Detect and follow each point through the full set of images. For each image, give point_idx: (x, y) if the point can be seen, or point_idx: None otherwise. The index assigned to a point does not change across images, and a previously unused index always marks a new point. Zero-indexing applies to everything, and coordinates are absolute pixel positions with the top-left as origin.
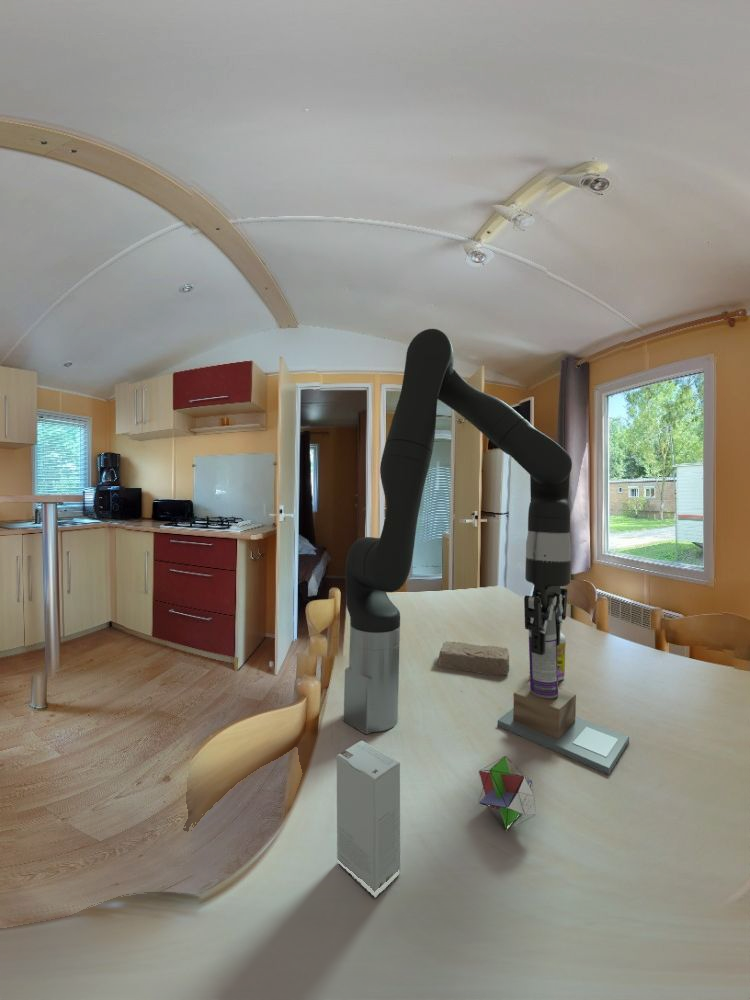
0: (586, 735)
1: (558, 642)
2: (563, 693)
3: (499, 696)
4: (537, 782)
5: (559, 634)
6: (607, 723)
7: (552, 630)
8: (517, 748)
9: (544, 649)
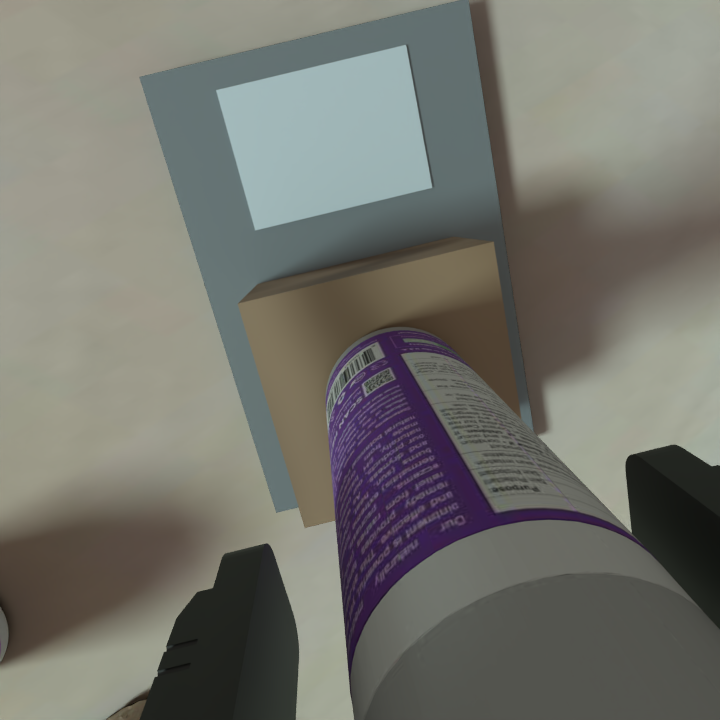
0: (323, 188)
1: (259, 560)
2: (299, 343)
3: (331, 584)
4: (714, 139)
5: (215, 636)
6: (87, 225)
7: (646, 629)
8: (594, 305)
9: (683, 466)
